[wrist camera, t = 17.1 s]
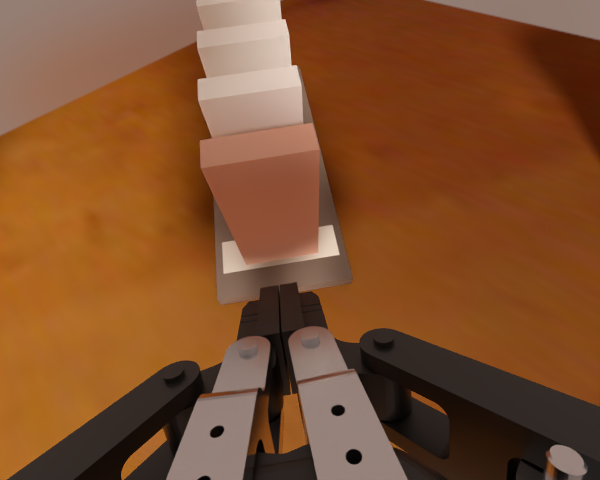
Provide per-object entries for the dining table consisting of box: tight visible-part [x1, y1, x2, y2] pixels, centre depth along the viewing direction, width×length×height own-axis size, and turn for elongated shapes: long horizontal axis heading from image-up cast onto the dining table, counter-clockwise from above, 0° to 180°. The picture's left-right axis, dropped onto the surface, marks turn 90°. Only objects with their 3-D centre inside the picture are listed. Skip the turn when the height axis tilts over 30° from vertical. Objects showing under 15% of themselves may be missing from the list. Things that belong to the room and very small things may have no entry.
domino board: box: [211, 67, 353, 305], centre depth 27 cm, size 9×22×1 cm, turn 9°
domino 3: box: [198, 65, 303, 138], centre depth 20 cm, size 2×5×10 cm, turn 99°
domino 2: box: [197, 19, 291, 78], centre depth 22 cm, size 2×5×10 cm, turn 99°
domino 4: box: [200, 123, 320, 265], centre depth 18 cm, size 2×5×10 cm, turn 100°
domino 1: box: [196, 0, 281, 30], centre depth 24 cm, size 2×5×10 cm, turn 99°
